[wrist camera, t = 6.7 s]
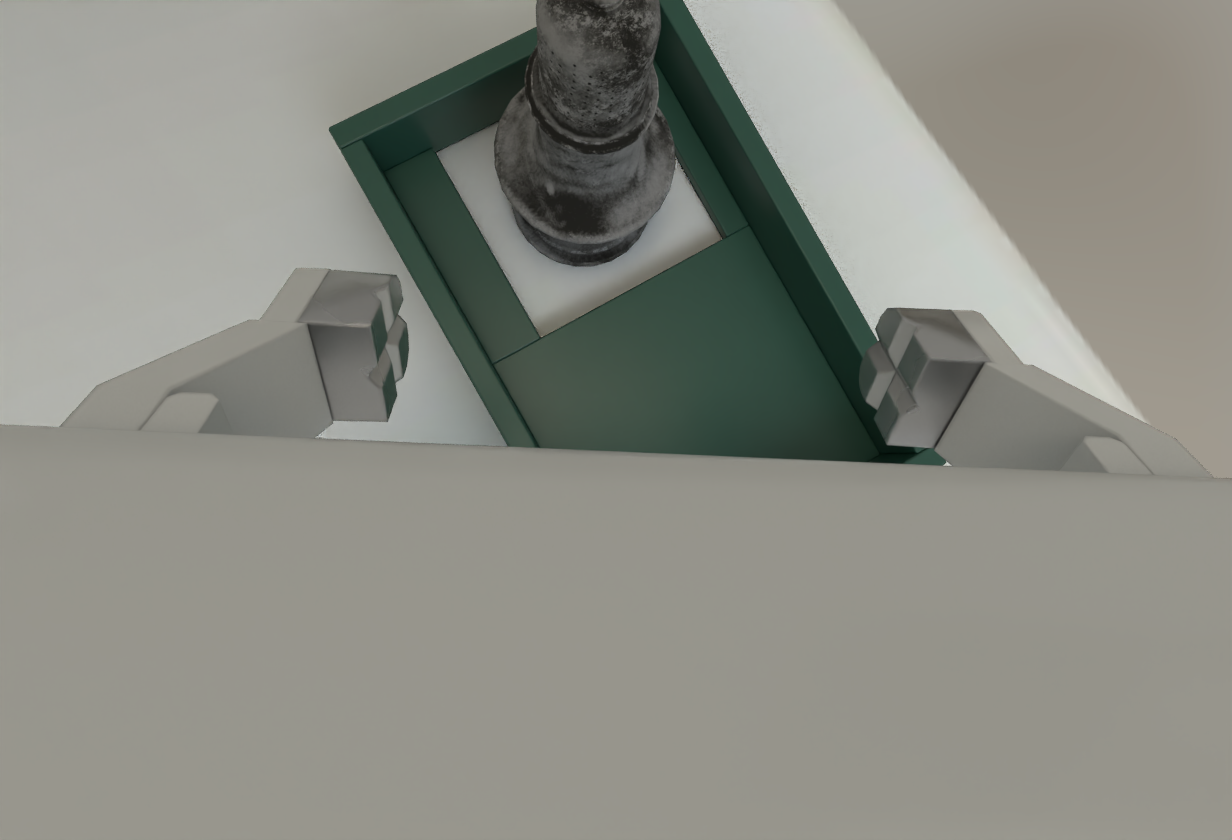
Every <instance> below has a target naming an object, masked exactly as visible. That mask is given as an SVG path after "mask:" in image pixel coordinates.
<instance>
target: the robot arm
mask: <svg viewBox="0 0 1232 840" xmlns="http://www.w3.org/2000/svg"><path fill="white" fill-rule="evenodd" d="M402 302H403V296H402V290H401V284H400V281H399V279H398V277H397V275H390V274H378V273H366V272H354V271H342V270H331V269H319V268H296V269H295V270H294V271H293V273H292V274H291V275H290V277H289V278H288V280H287V281H286V283H285V284H284V285H283V287H282V288H281V290H280V291H279V293H278V294H277V295H276V297H275V298H274V300H273V301H272V303H271V304H270V305H269V307H268V308H267V310H266V311H265V313H264V314H263V315H262V317H261V318H260V320H247V321H245V322H242V323H240V324H238V325H235V326H233V327H231V328H228V329H226V330H224V331H222V332H219V333H217V334H215V335H212V336H210V337H208V338H205V339H203V340H201V341H198V342H196V343H194V344H191V345H189V346H187V347H185V348H182V349H180V350H178V351H175V352H173V353H171V354H168V355H166V356H164V357H161V358H159V359H157V360H154V361H152V362H150V363H148V364H145V365H143V366H141V367H138V368H136V369H134V370H131V371H129V372H127V373H124V374H122V375H120V376H117V377H115V378H113V379H111V380H108V381H106V382H104V383H101V384H99V385H97V386H96V387H95V388H94V389H93V390H92V391H91V392H90V394H89V395H88V396H87V397H86V398H85V399H84V400H83V401H82V402H81V403H80V404H79V406H78V407H77V408H76V409H75V410H74V411H73V412H72V413H71V414H70V415H69V417H68V418H67V419H66V420H65V421H64V422H63V423H62V424H61V425H60V426H59V427H48V426H25V425H2V424H0V840H1232V478H1214V477H1213V476H1212V475H1211V474H1210V473H1209V472H1208V471H1207V470H1206V469H1205V468H1204V467H1203V466H1202V465H1201V464H1200V463H1199V462H1198V461H1197V460H1196V459H1195V458H1194V457H1193V456H1192V455H1191V454H1190V453H1189V452H1188V451H1187V449H1186V448H1185V447H1183V445H1182V444H1181V443H1180V442H1179V441H1178V440H1177V439H1175V438H1173V437H1171V436H1169V435H1167V434H1165V433H1164V432H1162V431H1160V430H1158V429H1156V428H1154V427H1152V426H1150V425H1148V424H1146V423H1144V422H1142V421H1140V420H1138V419H1136V418H1134V417H1133V416H1131V415H1129V414H1127V413H1125V412H1123V411H1121V410H1119V409H1117V408H1115V407H1113V406H1111V405H1109V404H1107V403H1105V402H1103V401H1101V400H1100V399H1098V398H1096V397H1094V396H1092V395H1090V394H1088V393H1086V392H1084V391H1082V390H1080V389H1078V388H1076V387H1074V386H1072V385H1070V384H1068V383H1067V382H1065V381H1063V380H1061V379H1059V378H1057V377H1055V376H1053V375H1051V374H1049V373H1047V372H1045V371H1043V370H1041V369H1039V368H1037V367H1035V366H1034V365H1024V364H1023V363H1022V361H1021V360H1020V359H1019V358H1018V357H1017V356H1016V354H1015V353H1014V352H1013V351H1012V350H1011V348H1010V347H1009V346H1008V345H1007V344H1006V343H1005V341H1004V340H1003V339H1002V338H1001V337H1000V335H999V334H998V333H997V332H996V331H995V329H994V328H993V327H992V326H991V325H990V324H989V322H988V321H987V320H986V319H985V318H984V316H983V315H982V314H981V313H978V312H975V311H968V310H939V309H914V308H887V309H886V311H885V312H884V313H883V314H882V316H881V317H880V319H879V322H878V324H877V326H876V328H875V330H876V332H877V335H878V338H879V341H878V342H876V343H875V344H874V345H873V346H871V347H870V348H869V349H867V350H866V352H865V355H864V358H863V360H862V363H861V366H860V374H859V385H860V391H861V394H862V396H863V398H864V400H865V402H866V403H868V404H869V405H871V406H872V407H873V408H875V409H876V410H877V413H876V415H875V417H874V420H875V422H876V424H877V426H878V428H879V430H880V432H881V434H882V436H883V438H884V440H885V442H886V444H887V445H895V446H909V447H922V448H935V450H934V451H935V452H937V453H938V454H939V455H940V456H941V457H942V458H944V459H945V460H946V461H947V462H948V463H949V464H951V465H952V466H939V465H916V464H893V463H870V462H847V461H824V460H801V459H778V458H755V457H732V456H709V455H687V454H664V453H641V452H618V451H595V450H572V449H549V448H527V447H504V446H481V445H458V444H435V443H412V442H389V441H367V440H344V439H321V438H315V437H316V436H318V435H319V434H320V433H321V432H323V431H324V430H325V429H326V428H328V427H329V426H330V425H331V424H333V421H374V422H388V419H389V417H390V414H391V411H392V408H393V405H394V403H395V400H396V397H397V391H396V385H395V383H396V382H397V381H399V380H400V379H402V378H403V377H404V374H405V370H406V367H407V361H408V352H409V342H408V330H407V323H406V322H405V321H404V320H403V319H402V318H401V317H400V316H399V315H398V312H399V310H400V307H401V304H402Z"/></svg>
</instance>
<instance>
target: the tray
mask: <svg viewBox="0 0 1232 840" xmlns="http://www.w3.org/2000/svg"><path fill="white" fill-rule="evenodd" d="M659 3H660V17H661V30H660V34H659V39H658V43H657V47H656V52H655V56H654V60H653V66H654V69H655V72H656V75H657V78H658V90H659V98H658V103H657V105H658V107H659V109H660V110H661V112H662V113H663V115H664V117H665V118H666V120H667V122H668V125H669V128H670V131H671V134H672V137H673V141H674V148H675V155H676V157H677V159H678V160H679V162H680V164H681V166H682V167H683V169H684V171H685V173H686V174H687V176H688V178H689V180H690V181H691V183H692V185H693V187H694V188H695V190H696V192H697V194H698V195H699V197H700V199H701V201H702V202H703V204H704V206H705V208H706V209H707V211H708V213H709V215H710V216H711V218H712V220H713V222H714V223H715V225H716V227H717V229H718V230H719V232H720V234H721V236H722V237H723V239H722V240H720V241H719V242H717V243H715V244H713V245H711V246H709V247H708V248H706V249H704V250H702V251H700V252H698V253H697V254H695V255H693V256H691V257H689V258H687V259H686V260H684V261H682V262H680V263H678V264H676V265H675V266H673V267H671V268H669V269H667V270H665V271H663V272H662V273H660V274H658V275H656V276H654V277H652V278H651V279H649V280H647V281H645V282H643V283H641V284H640V285H638V286H636V287H634V288H632V289H630V290H629V291H627V292H625V293H623V294H621V295H619V296H618V297H616V298H614V299H612V300H610V301H608V302H607V303H605V304H603V305H601V306H599V307H597V308H595V309H594V310H592V311H590V312H588V313H586V314H584V315H583V316H581V317H579V318H577V319H575V320H573V321H572V322H570V323H568V324H566V325H564V326H562V327H561V328H559V329H557V330H555V331H553V332H551V333H550V334H548V335H546V336H544V337H542V338H540V336H539V334H538V333H537V331H536V329H535V327H534V326H533V324H532V322H531V320H530V319H529V317H528V315H527V313H526V312H525V310H524V308H523V306H522V305H521V303H520V301H519V299H518V297H517V296H516V294H515V292H514V290H513V289H512V287H511V285H510V283H509V282H508V280H507V278H506V276H505V275H504V273H503V271H502V269H501V268H500V266H499V264H498V262H497V260H496V259H495V257H494V255H493V253H492V252H491V250H490V248H489V246H488V245H487V243H486V241H485V239H484V238H483V236H482V234H481V232H480V231H479V229H478V227H477V225H476V224H475V222H474V220H473V218H472V216H471V215H470V213H469V211H468V209H467V208H466V206H465V204H464V202H463V201H462V199H461V197H460V195H459V194H458V192H457V190H456V188H455V187H454V185H453V183H452V181H451V180H450V178H449V176H448V174H447V172H446V171H445V169H444V167H443V165H442V164H441V162H440V160H439V158H438V157H437V155H436V153H435V152H437V151H439V150H441V149H443V148H445V147H447V146H449V145H451V144H453V143H455V142H457V141H459V140H461V139H463V138H465V137H467V136H469V135H471V134H473V133H475V132H477V131H479V130H481V129H483V128H485V127H487V126H489V125H491V124H493V123H495V122H497V121H499V120H500V118H501V117H502V115H503V113H504V111H505V110H506V108H507V106H508V104H509V103H510V101H511V99H512V98H513V97H514V96H515V95H516V94H517V93H518V92H520V91H521V90H522V89H523V88H524V87H525V78H524V77H525V72H526V68H527V64H528V60H529V58H530V56H531V54H532V52H533V51H534V49H535V47H536V45H537V27H535V28H533V29H531V30H529V31H527V32H525V33H523V34H521V35H519V36H517V37H515V38H513V39H510V40H508V41H506V42H504V43H502V44H500V45H498V46H496V47H494V48H492V49H490V50H488V51H486V52H484V53H482V54H480V55H477V56H475V57H473V58H471V59H469V60H467V61H465V62H463V63H461V64H459V65H457V66H455V67H453V68H451V69H449V70H447V71H444V72H442V73H440V74H438V75H436V76H434V77H432V78H430V79H428V80H426V81H424V82H422V83H420V84H418V85H416V86H414V87H412V88H409V89H407V90H405V91H403V92H401V93H399V94H397V95H395V96H393V97H391V98H389V99H387V100H385V101H383V102H381V103H379V104H376V105H374V106H372V107H370V108H368V109H366V110H364V111H362V112H360V113H358V114H356V115H354V116H352V117H350V118H348V119H346V120H344V121H341V122H339V123H337V124H335V125H333V126H331V127H329V131H330V133H331V135H332V137H333V138H334V140H335V142H336V144H337V146H338V147H339V149H340V150H341V153H342V154H343V156H344V158H345V160H346V161H347V163H348V165H349V167H350V168H351V170H352V172H353V174H354V175H355V177H356V179H357V181H358V183H359V184H360V186H361V188H362V190H363V191H364V193H365V195H366V197H367V198H368V200H369V202H370V204H371V205H372V207H373V209H374V211H375V212H376V214H377V216H378V218H379V220H380V221H381V223H382V225H383V227H384V228H385V230H386V232H387V234H388V235H389V237H390V239H391V241H392V242H393V244H394V246H395V248H396V250H397V251H398V253H399V255H400V257H401V258H402V260H403V262H404V264H405V265H406V267H407V269H408V271H409V272H410V274H411V276H412V278H413V280H414V281H415V283H416V285H417V287H418V288H419V290H420V292H421V294H422V295H423V297H424V299H425V301H426V302H427V304H428V306H429V308H430V310H431V311H432V313H433V315H434V317H435V318H436V320H437V322H438V324H439V325H440V327H441V329H442V331H443V332H444V334H445V336H446V338H447V339H448V341H449V343H450V345H451V347H452V348H453V350H454V352H455V354H456V355H457V357H458V359H459V361H460V362H461V364H462V366H463V368H464V369H465V371H466V373H467V375H468V377H469V378H470V380H471V382H472V384H473V385H474V387H475V389H476V391H477V392H478V394H479V396H480V398H481V399H482V401H483V403H484V405H485V407H486V408H487V410H488V412H489V414H490V415H491V417H492V419H493V421H494V422H495V424H496V426H497V428H498V429H499V431H500V433H501V435H502V436H503V438H504V440H505V442H506V444H507V445H508V447H527V448H549V449H572V450H595V451H618V452H641V453H664V454H687V455H709V456H732V457H755V458H778V459H801V460H824V461H847V462H870V463H893V464H916V465H939V466H942V465H944V464H945V463H946V460H945V459H944V458H942V457H941V456H940V455H939V454H938V453H937V452H935V451H934V450H935V448H922V447H909V446H895V445H887V444H886V442H885V440H884V438H883V436H882V434H881V432H880V430H879V428H878V426H877V424H876V422H875V420H874V417H875V415H876V413H877V410H876V409H875V408H873V407H872V406H871V405H869V404H868V403H866V402H865V400H864V398H863V396H862V394H861V391H860V385H859V374H860V366H861V363H862V360H863V358H864V355H865V352H866V350H867V349H869V348H870V347H871V346H873V345H874V344H875V343H876V342H878V341H877V339H876V337H875V336H874V334H873V332H872V330H871V329H870V327H869V325H868V323H867V322H866V320H865V318H864V316H863V315H862V313H861V311H860V309H859V308H858V306H857V304H856V302H855V301H854V299H853V297H852V295H851V294H850V292H849V290H848V288H847V287H846V285H845V283H844V281H843V280H842V278H841V276H840V274H839V273H838V271H837V269H836V267H835V266H834V264H833V262H832V260H831V259H830V257H829V255H828V253H827V252H826V250H825V248H824V246H823V245H822V243H821V241H820V239H819V238H818V236H817V234H816V232H815V231H814V229H813V227H812V225H811V224H810V222H809V220H808V218H807V217H806V215H805V213H804V211H803V210H802V208H801V206H800V204H799V203H798V201H797V199H796V197H795V196H794V194H793V192H792V190H791V189H790V187H789V185H788V183H787V182H786V180H785V178H784V176H783V175H782V173H781V171H780V169H779V168H778V166H777V164H776V162H775V161H774V159H773V157H772V155H771V154H770V152H769V150H768V148H767V147H766V145H765V143H764V141H763V140H762V138H761V136H760V134H759V133H758V131H757V129H756V127H755V126H754V124H753V122H752V120H751V119H750V117H749V115H748V113H747V112H746V110H745V108H744V106H743V105H742V103H741V101H740V99H739V98H738V96H737V94H736V92H735V91H734V89H733V87H732V85H731V84H730V82H729V80H728V78H727V77H726V75H725V73H724V71H723V70H722V68H721V66H720V64H719V63H718V61H717V59H716V57H715V56H714V54H713V52H712V50H711V49H710V47H709V45H708V43H707V42H706V40H705V38H704V36H703V35H702V33H701V31H700V29H699V28H698V26H697V24H696V22H695V21H694V19H693V17H692V15H691V14H690V12H689V10H688V8H687V7H686V5H685V3H684V2H683V0H659Z"/></svg>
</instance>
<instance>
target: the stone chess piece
mask: <svg viewBox="0 0 1232 840" xmlns="http://www.w3.org/2000/svg"><path fill="white" fill-rule="evenodd" d="M536 24H537V45H536V47H535V49H534V51H533V52H532V54H531V56H530V58H529V60H528V64H527V68H526V72H525V77H524V78H525V87H524V88H523V89H522V90H521V91H520V92H518V93H517V94H516V95H515V96H514V97H513V98H512V99H511V101H510V103H509V104H508V106H507V108H506V110H505V111H504V113H503V115H502V117H501V118H500V121H499V125H498V129H497V133H496V137H495V141H494V154H495V168H496V171H497V175H498V178H499V181H500V184H501V188H502V190H503V192H504V193H505V195H506V197H507V198H508V200H509V201H510V203H511V205H512V209H513V213H514V216H515V219H516V222H517V225H518V227H519V228H520V230H521V231H522V233H523V235H524V236H525V238H526V239H527V241H528V242H530V243H531V244H532V245H533V246H534V247H535V248H536V249H537V250H538V251H539V252H540V253H542V254H544V255H545V256H547V257H549V258H551V259H553V260H555V261H556V262H560V263H564V264H568V265H572V266H595V265H599V264H602V263H606V262H610V261H612V260H614V259H615V258H617V257H619V256H620V255H622V254H624V253H625V252H627V251H628V250H629V249H630V248H631V247H632V245H633V244H634V243H635V242H636V241H637V240H638V239H639V237H640V236H641V234H642V232H643V230H644V228H645V226H646V224H647V222H648V220H649V219H650V218H651V217H652V216H653V215H654V214H655V213H656V212H657V211H658V210H659V209H660V207H661V205H662V203H663V201H664V199H665V197H666V196H667V194H668V192H669V190H670V187H671V183H672V178H673V174H674V170H675V148H674V141H673V137H672V134H671V131H670V128H669V125H668V122H667V120H666V118H665V117H664V115H663V113H662V112H661V110H660V109H659V107H658V105H657V103H658V98H659V90H658V78H657V75H656V72H655V69H654V66H653V60H654V56H655V52H656V47H657V43H658V39H659V34H660V30H661V17H660V3H659V0H537V4H536Z"/></svg>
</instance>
